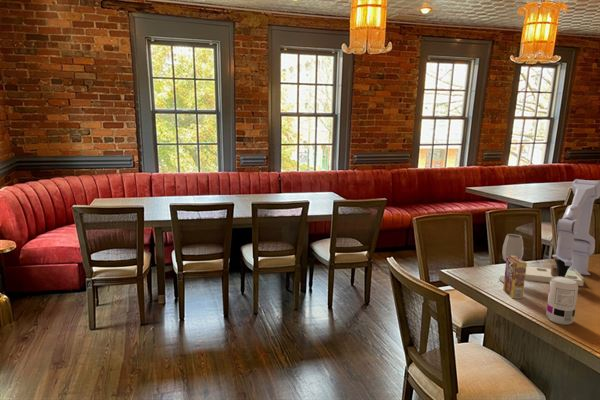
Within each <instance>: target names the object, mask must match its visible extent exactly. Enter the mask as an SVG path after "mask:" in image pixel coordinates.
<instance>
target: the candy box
mask: <svg viewBox="0 0 600 400" xmlns="http://www.w3.org/2000/svg"><path fill="white" fill-rule="evenodd" d="M527 265H528V262H526V261H525V260H524V259H520V258H519V257H517V256H507V259H506V261H505V269H504V276H505V277H504V283H503V288H502V289H503V291H504V292H505V293H506V294H507V295H509V297H511V299H515V300H516V299H517V300H518V299H519V300H522V299H523V296H524V289H525V282H526V280H525V274H526V266H527Z"/></svg>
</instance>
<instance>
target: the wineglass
mask: <svg viewBox="0 0 600 400" xmlns="http://www.w3.org/2000/svg"><path fill="white" fill-rule="evenodd" d="M524 248H525V247H524V239H523V236H522V235H520V234H514V233H507V234H506V236H505V239H504V242H503V245H502V252H501V253H502V259H503V260H504V261H505V262H506V259H507V256H517V257H519V258H520V259H522V258H523V256H524V250H525V249H524ZM522 260H523V259H522ZM504 277H505V275H502V276H500V277H498V280H499V281H500V282H501V283H503V284H504Z"/></svg>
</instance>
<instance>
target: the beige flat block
mask: <svg viewBox="0 0 600 400" xmlns="http://www.w3.org/2000/svg"><path fill="white" fill-rule="evenodd" d="M553 277H554V276H552V275H551V268H547V267H546V268H545V267H536V266H526V274H525V281H532V282H534V281H535V282H540V283H541V282H542V283H550V281H551V280H552V278H553ZM565 277H567V278H571V279H573V280H575V281H576V282H577V285H578V287H579V286H580V287H584V280H585V278H584V276H582V274H579V272H578V271H577V270H576V269H574V271H568V270H567V273H566V275H565Z"/></svg>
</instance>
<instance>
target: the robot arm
mask: <svg viewBox="0 0 600 400" xmlns="http://www.w3.org/2000/svg"><path fill="white" fill-rule="evenodd" d="M571 186H572V187H571V190H572V193H573V199H572V202H571V205H568V206H567V207H566V208H565V212H564V213H563V216H562V218H559V219H558V221H557V224H556V232H557V233H556V234H557V244H556V253H555V254H552V258H554V262H555V265H557V271H558V276H561V277H565V275H566V273H567V270H568V271H574V269H576V270H577V271H578V272H579V274H580V275H586V276H591V273H590V272H589V271H588V266H589V259H590V256H591V255H593V254H594V253H595V248H596V239H595V238H594V237H593V236H592V235H591V233H590V227H591V220H592V215H593V208H594V202H595V200H597V199H600V180H589V179H587V180H585V179H578V178H576V179H574V180H573V182H572V185H571Z"/></svg>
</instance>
